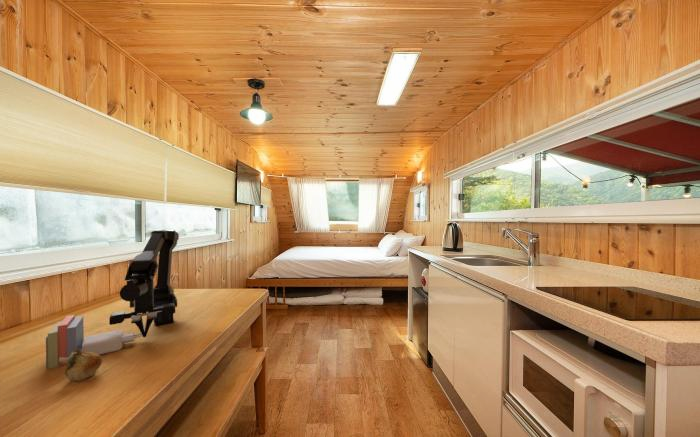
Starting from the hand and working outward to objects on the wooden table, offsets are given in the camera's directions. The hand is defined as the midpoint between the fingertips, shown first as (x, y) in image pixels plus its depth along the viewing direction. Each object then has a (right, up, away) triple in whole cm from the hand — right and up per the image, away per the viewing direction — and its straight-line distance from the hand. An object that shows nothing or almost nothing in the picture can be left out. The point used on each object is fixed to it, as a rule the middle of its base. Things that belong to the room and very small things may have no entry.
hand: (144, 336), depth 100 cm
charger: (-7, -2, -5) cm, 9 cm away
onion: (0, -2, -23) cm, 23 cm away
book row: (-16, -2, -12) cm, 20 cm away
